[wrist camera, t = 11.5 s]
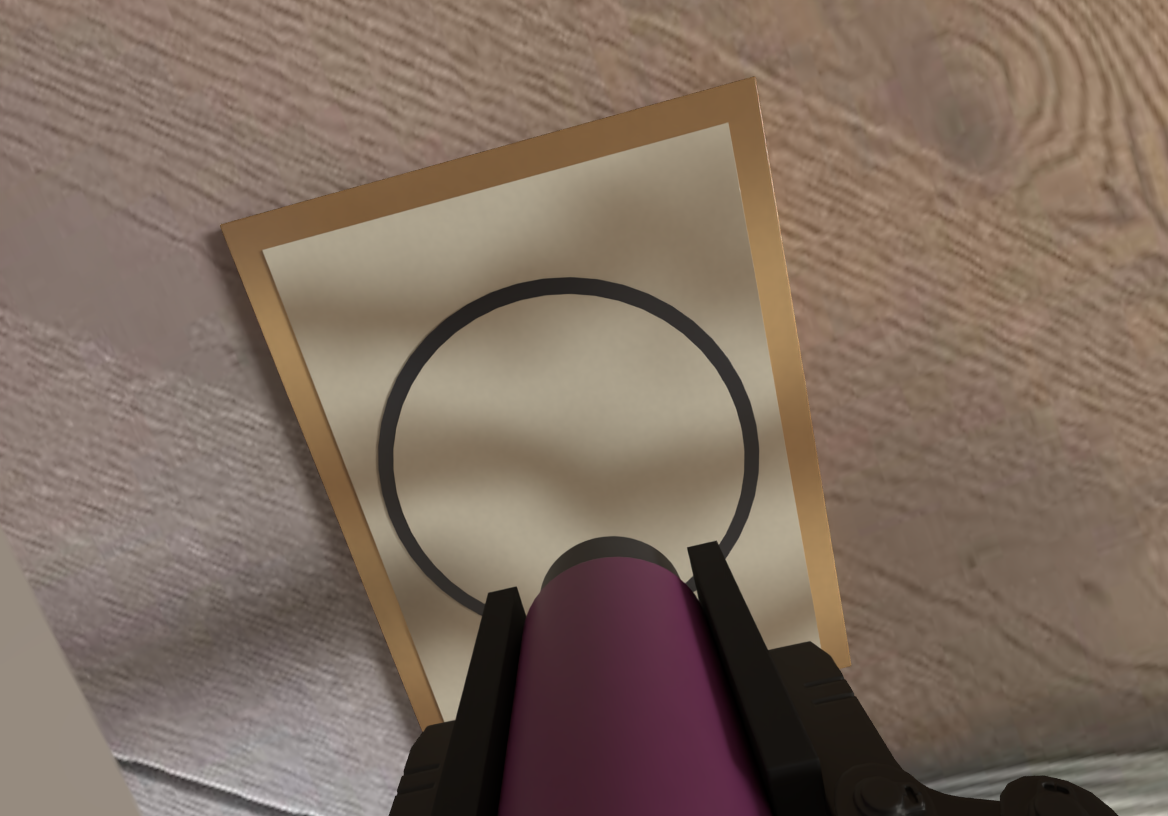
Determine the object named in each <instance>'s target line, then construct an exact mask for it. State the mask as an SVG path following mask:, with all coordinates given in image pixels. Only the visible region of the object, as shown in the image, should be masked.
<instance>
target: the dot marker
mask: <svg viewBox="0 0 1168 816" xmlns="http://www.w3.org/2000/svg"><path fill="white" fill-rule="evenodd" d="M497 816H774V814H773V811H772V808H771V805H770V802H769V799H768V796H767V794H766V791H765V788H764V785H763V782H762V779H761V776H760V773H759V770H758V767H757V764H756V762H755V759H754V756H753V753H752V750H751V747H750V744H749V741H748V738H747V735H746V732H745V730H744V727H743V724H742V721H741V718H740V715H739V712H738V709H737V706H736V703H735V700H734V698H733V695H732V692H731V689H730V686H729V683H728V680H727V677H726V674H725V671H724V668H723V666H722V663H721V660H720V657H719V654H718V651H717V648H716V645H715V642H714V639H713V636H712V634H711V631H710V628H709V625H708V622H707V619H706V616H705V613H704V610H703V608H702V606H701V604H700V602H699V600H698V598H697V597H696V596H695V594H694V593H693V591H692V590H691V589H690V588H689V587H688V586H687V585H686V583H685V582H683V581H682V580H681V579H680V577H679V575H678V573H677V570H676V569H675V567H674V566H673V564H672V563H671V562H670V561H669V560H668V559H667V557H666V556H664V555H663V554H662V553H661V552H660V551H658V550H657V549H655V548H654V547H652V546H650V545H648V544H646V543H644V542H642V541H639V540H636V539H633V538H628V537H621V536H604V537H598V538H593V539H590V540H587V541H584V542H582V543H579V544H577V545H575V546H574V547H572V548H570V549H569V550H567V551H566V552H565V553H563V554H562V555H561V556H560V557H559V558H558V559H557V560H556V561H555V562H554V563H553V564H552V566H551V567H550V568H549V570H548V572H547V574H546V575H545V577H544V580H543V583H542V586H541V590H540V593H539V594H538V595H537V597H536V598H535V599H534V601H533V603H532V605H531V607H530V608H529V611H528V613H527V616H526V619H525V623H524V628H523V634H522V641H521V648H520V656H519V663H518V670H517V677H516V684H515V691H514V699H513V706H512V713H511V720H510V727H509V734H508V742H507V749H506V756H505V763H504V770H503V778H502V785H501V792H500V799H499V806H498V813H497Z"/></svg>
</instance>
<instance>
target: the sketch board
mask: <svg viewBox="0 0 1168 816" xmlns="http://www.w3.org/2000/svg"><path fill="white" fill-rule="evenodd" d="M220 227H221V230H222V232H223V235H224V237H225V240H226V242H227V245H228V247H229V250H230V252H231V255H232V257H233V260H234V262H235V265H236V267H237V270H238V272H239V275H240V277H241V280H242V282H243V285H244V287H245V290H246V292H247V295H248V297H249V300H250V302H251V305H252V307H253V310H254V312H255V315H256V317H257V320H258V322H259V325H260V327H261V330H262V332H263V335H264V337H265V340H266V342H267V345H268V347H269V350H270V352H271V355H272V357H273V360H274V362H275V365H276V367H277V370H278V372H279V375H280V377H281V380H282V382H283V385H284V387H285V390H286V392H287V395H288V397H289V400H290V402H291V405H292V407H293V410H294V412H295V415H296V417H297V420H298V422H299V425H300V427H301V430H302V432H303V435H304V437H305V440H306V442H307V445H308V447H309V450H310V452H311V455H312V457H313V460H314V462H315V465H316V467H317V470H318V472H319V475H320V477H321V480H322V482H323V485H324V487H325V490H326V492H327V495H328V497H329V500H330V502H331V505H332V507H333V510H334V512H335V515H336V517H337V520H338V522H339V525H340V527H341V530H342V532H343V535H344V537H345V540H346V542H347V545H348V547H349V550H350V552H351V555H352V557H353V560H354V562H355V565H356V567H357V570H358V572H359V575H360V577H361V580H362V582H363V585H364V587H365V590H366V592H367V595H368V597H369V600H370V602H371V605H372V607H373V610H374V612H375V615H376V617H377V620H378V622H379V625H380V627H381V630H382V632H383V635H384V637H385V640H386V642H387V645H388V647H389V650H390V652H391V655H392V657H393V660H394V662H395V665H396V667H397V670H398V672H399V675H400V677H401V680H402V682H403V685H404V687H405V690H406V692H407V695H408V697H409V700H410V702H411V705H412V707H413V710H414V712H415V715H416V717H417V720H418V722H419V725H420V727H421V730H422V732H423V731H424V730H425V728H426V727H427V726H429V725H433V724H438V723H443V722H447V721H452V720H455V719H456V715H457V711H458V707H459V703H460V699H461V696H462V692H463V688H464V684H465V680H466V676H467V672H468V668H469V665H470V661H471V657H472V653H473V649H474V645H475V641H476V637H477V633H478V630H479V626H480V622H481V618H482V614H483V610H484V606H485V602H486V599H487V595H488V593H489V592H493V591H498V590H502V589H506V588H511V587H515V586H517V588H518V592H519V595H520V598H521V601H522V604H523V607H524V611H525V614H526V616H527V613H528V611H529V608H530V607H531V605H532V603H533V601H534V599H535V598H536V597H537V595H538V594H539V593H540V590H541V586H542V583H543V580H544V577H545V575H546V574H547V572H548V570H549V568H550V567H551V566H552V564H553V563H554V562H555V561H556V560H557V559H558V558H559V557H560V556H561V555H562V554H563V553H565V552H566V551H567V550H569V549H570V548H572V547H574V546H575V545H577V544H579V543H582V542H584V541H587V540H590V539H593V538H598V537H604V536H621V537H628V538H633V539H636V540H639V541H642V542H644V543H646V544H648V545H650V546H652V547H654V548H655V549H657V550H658V551H660V552H661V553H662V554H663V555H664V556H666V557H667V559H668V560H669V561H670V562H671V563H672V564H673V566H674V567H675V569H676V570H677V573H678V575H679V577H680V579H681V580H682V581H683V582H685V583H686V585H687V586H688V587H689V588H690V589H691V590H692V591H693V593H694V594H695V596H696V597H697V598H698V595H697V590H696V586H695V581H694V577H693V573H692V568H691V564H690V559H689V555H688V551H687V547H690V546H695V545H699V544H703V543H708V542H712V541H716V540H717V542H718V544H719V547H720V549H721V551H722V553H723V555H724V557H725V559H726V561H727V564H728V566H729V568H730V570H731V572H732V574H733V576H734V579H735V581H736V583H737V585H738V587H739V589H740V591H741V593H742V596H743V598H744V600H745V602H746V604H747V606H748V608H749V610H750V613H751V615H752V617H753V619H754V621H755V623H756V625H757V628H758V630H759V632H760V634H761V636H762V638H763V640H764V642H765V645H766V647H767V649H768V650H770V649H775V648H779V647H784V646H789V645H793V644H798V643H802V642H807V641H811V642H812V643H814V644H815V645H817V646H818V647H819V648H821V649H822V650H824V651H825V652H826V653H828V654H829V655H831V657H832V658H833V660H834V662H835V663H836V665H837V666H838V668H839V669H841V668H845V667H850V666H851V660H850V654H849V648H848V642H847V636H846V630H845V623H844V617H843V611H842V605H841V599H840V593H839V587H838V580H837V574H836V568H835V562H834V556H833V550H832V543H831V537H830V531H829V525H828V519H827V513H826V507H825V500H824V494H823V488H822V482H821V476H820V470H819V463H818V457H817V451H816V445H815V439H814V433H813V427H812V420H811V414H810V408H809V402H808V396H807V390H806V383H805V377H804V371H803V365H802V359H801V353H800V347H799V340H798V334H797V328H796V322H795V316H794V310H793V304H792V297H791V291H790V285H789V279H788V273H787V267H786V260H785V254H784V248H783V242H782V236H781V230H780V224H779V217H778V211H777V205H776V199H775V193H774V187H773V180H772V174H771V168H770V162H769V156H768V150H767V144H766V137H765V131H764V125H763V119H762V113H761V107H760V100H759V94H758V88H757V82H756V77H750V78H747V79H743V80H739V81H736V82H732V83H729V84H725V85H721V86H718V87H714V88H710V89H707V90H703V91H700V92H696V93H692V94H689V95H685V96H682V97H678V98H674V99H671V100H667V101H664V102H660V103H656V104H653V105H649V106H646V107H642V108H638V109H635V110H631V111H628V112H624V113H620V114H617V115H613V116H610V117H606V118H602V119H599V120H595V121H592V122H588V123H584V124H581V125H577V126H574V127H570V128H566V129H563V130H559V131H556V132H552V133H548V134H545V135H541V136H537V137H534V138H530V139H527V140H523V141H519V142H516V143H512V144H509V145H505V146H501V147H498V148H494V149H491V150H487V151H483V152H480V153H476V154H473V155H469V156H465V157H462V158H458V159H455V160H451V161H447V162H444V163H440V164H437V165H433V166H429V167H426V168H422V169H419V170H415V171H411V172H408V173H404V174H401V175H397V176H393V177H390V178H386V179H383V180H379V181H375V182H372V183H368V184H364V185H361V186H357V187H354V188H350V189H346V190H343V191H339V192H336V193H332V194H328V195H325V196H321V197H318V198H314V199H310V200H307V201H303V202H300V203H296V204H292V205H289V206H285V207H282V208H278V209H274V210H271V211H267V212H264V213H260V214H256V215H253V216H249V217H246V218H242V219H238V220H235V221H231V222H228V223H224V224H221V225H220ZM698 600H699V599H698Z"/></svg>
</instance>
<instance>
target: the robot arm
mask: <svg viewBox="0 0 1168 816" xmlns="http://www.w3.org/2000/svg"><path fill="white" fill-rule="evenodd" d="M687 551H688V555H689V559H690V564H691V568H692V573H693V577H694V581H695V586H696V590H697V595H698V599H699V602H700V604H701V606H702V608H703V610H704V613H705V616H706V619H707V622H708V625H709V628H710V631H711V634H712V636H713V639H714V642H715V645H716V648H717V651H718V654H719V657H720V660H721V663H722V666H723V668H724V671H725V674H726V677H727V680H728V683H729V686H730V689H731V692H732V695H733V698H734V700H735V703H736V706H737V709H738V712H739V715H740V718H741V721H742V724H743V727H744V730H745V732H746V735H747V738H748V741H749V744H750V747H751V750H752V753H753V756H754V759H755V762H756V764H757V767H758V770H759V773H760V776H761V779H762V782H763V785H764V788H765V791H766V794H767V796H768V799H769V802H770V805H771V808H772V811H773V814H774V816H1118V815H1117V814H1116V813H1115V812H1114V811H1113V810H1112V809H1111V808H1110V807H1109V806H1108V805H1106V804H1105V803H1104V802H1103V801H1101V800H1100V799H1099V798H1098V797H1096V796H1095V795H1094V794H1093V793H1091V792H1089V791H1087V790H1085V789H1083V788H1081V787H1079V786H1077V785H1075V784H1073V783H1071V782H1069V781H1065V780H1061V779H1057V778H1052V777H1048V776H1023V777H1021V778H1019V779H1017V780H1014V781H1012V782H1010V783H1008V784H1007V786H1006V787H1005V789H1004V790H1003V792H1002V793H1001V795H1000V801H994V800H984V799H974V798H964V797H958V796H953V795H947V794H944V793H941V792H938V791H936V790H933V789H930V788H928V787H926V786H925V785H923V784H921V783H920V782H919V781H917V780H916V779H915V778H914V777H913V776H911V775H910V774H909V773H907V772H905V771H904V770H903V769H902V768H901V767H900V765H899V764H898V763H897V762H896V760H895V759H894V757H893V756H892V754H891V752H890V751H889V749H888V748H887V746H886V744H885V743H884V741H883V739H882V738H881V736H880V735H879V733H878V731H877V730H876V728H875V726H874V725H873V723H872V722H871V720H870V718H869V717H868V715H867V713H866V712H865V710H864V709H863V707H862V705H861V704H860V702H859V700H858V699H857V697H855V696H854V693H853V691H852V689H851V687H850V686H849V684H848V683H847V681H846V680H845V679H844V677H843V675H842V673H841V671H840V670H839V668H838V666H837V665H836V663H835V662H834V660H833V658H832V657H831V655H829V654H828V653H826V652H825V651H824V650H822V649H821V648H819V647H818V646H817V645H815V644H814V643H812V642H811V641H807V642H802V643H798V644H793V645H789V646H784V647H779V648H775V649H770V650H768V649H767V647H766V645H765V642H764V640H763V638H762V636H761V634H760V632H759V630H758V628H757V625H756V623H755V621H754V619H753V617H752V615H751V613H750V610H749V608H748V606H747V604H746V602H745V600H744V598H743V596H742V593H741V591H740V589H739V587H738V585H737V583H736V581H735V579H734V576H733V574H732V572H731V570H730V568H729V566H728V564H727V561H726V559H725V557H724V555H723V553H722V551H721V549H720V547H719V544H718V542H717V540H716V541H712V542H708V543H703V544H699V545H695V546H690V547H687ZM525 619H526V614H525V611H524V607H523V604H522V601H521V598H520V595H519V592H518V588H517V586H515V587H511V588H506V589H502V590H498V591H493V592H489V593H488V595H487V599H486V602H485V606H484V610H483V614H482V618H481V622H480V626H479V630H478V633H477V637H476V641H475V645H474V649H473V653H472V657H471V661H470V665H469V668H468V672H467V676H466V680H465V684H464V688H463V692H462V696H461V699H460V703H459V707H458V711H457V715H456V719H455V720H452V721H447V722H443V723H438V724H433V725H429V726H427V727H426V728H425V730H424V731H423V733H422V734H421V735H420V737H419V738H418V739H417V741H416V742H415V743H414V745H413V746H412V748H411V750H410V753H409V756H408V759H407V762H406V765H405V768H404V771H403V772H404V776H402V777H401V780H400V783H399V786H398V789H397V796H395V798H394V801H393V805H392V808H391V811H390V814H389V816H497V813H498V806H499V799H500V792H501V785H502V778H503V770H504V763H505V756H506V749H507V742H508V734H509V727H510V720H511V713H512V706H513V699H514V691H515V684H516V677H517V670H518V663H519V656H520V648H521V641H522V634H523V628H524V623H525Z"/></svg>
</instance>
